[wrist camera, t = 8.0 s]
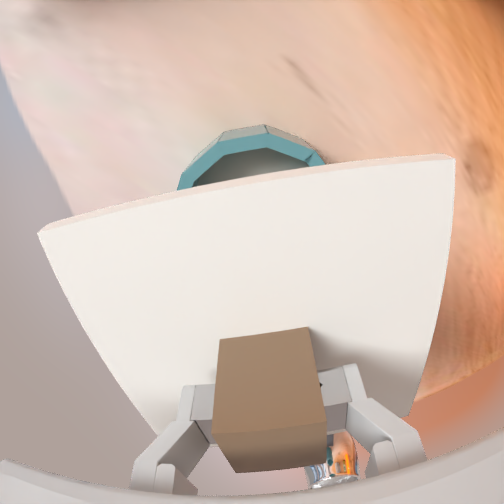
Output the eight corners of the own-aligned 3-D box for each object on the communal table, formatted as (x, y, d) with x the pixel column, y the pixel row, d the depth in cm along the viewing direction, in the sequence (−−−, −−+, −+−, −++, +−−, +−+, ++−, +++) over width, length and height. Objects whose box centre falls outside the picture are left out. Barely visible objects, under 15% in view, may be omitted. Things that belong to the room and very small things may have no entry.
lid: (442, 153, 9) (543, 206, 5) (404, 405, 15) (428, 473, 11) (48, 223, 10) (-32, 299, 6) (169, 436, 17) (158, 505, 12)
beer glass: (288, 392, 43) (297, 485, 30) (333, 375, 41) (355, 470, 28) (306, 413, 46) (317, 496, 32) (347, 398, 44) (367, 482, 31)
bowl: (318, 116, 26) (335, 123, 20) (332, 248, 32) (347, 280, 26) (171, 143, 27) (152, 157, 21) (205, 268, 33) (197, 304, 27)
